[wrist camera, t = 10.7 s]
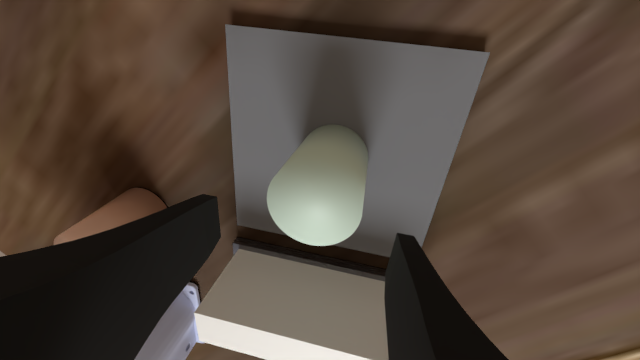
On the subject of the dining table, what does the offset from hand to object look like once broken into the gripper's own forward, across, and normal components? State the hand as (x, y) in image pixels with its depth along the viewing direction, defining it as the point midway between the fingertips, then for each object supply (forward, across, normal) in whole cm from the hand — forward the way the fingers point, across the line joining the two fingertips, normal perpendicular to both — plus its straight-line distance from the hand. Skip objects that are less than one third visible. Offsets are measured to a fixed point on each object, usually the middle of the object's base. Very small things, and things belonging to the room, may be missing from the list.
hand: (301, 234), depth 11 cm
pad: (+9, 0, 0) cm, 9 cm away
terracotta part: (+9, +16, +8) cm, 20 cm away
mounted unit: (+9, 0, +11) cm, 14 cm away
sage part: (+8, 0, 0) cm, 8 cm away
